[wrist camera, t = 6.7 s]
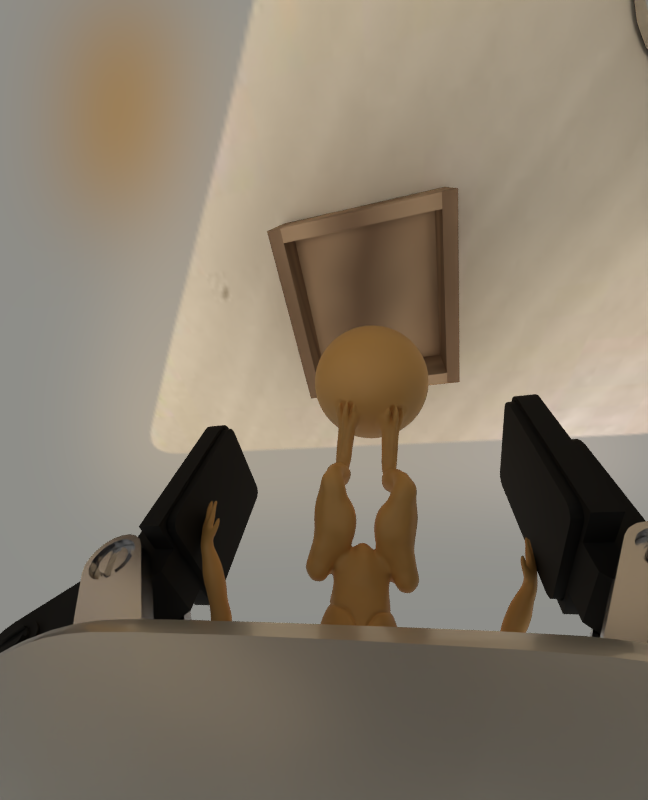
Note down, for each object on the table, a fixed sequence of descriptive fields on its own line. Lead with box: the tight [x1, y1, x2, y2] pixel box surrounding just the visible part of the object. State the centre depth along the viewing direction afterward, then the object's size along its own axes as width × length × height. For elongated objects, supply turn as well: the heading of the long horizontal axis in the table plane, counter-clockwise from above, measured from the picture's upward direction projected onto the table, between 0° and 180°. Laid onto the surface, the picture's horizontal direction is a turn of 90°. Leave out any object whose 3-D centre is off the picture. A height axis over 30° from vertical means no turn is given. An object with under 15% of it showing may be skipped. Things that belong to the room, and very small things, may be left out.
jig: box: [267, 187, 459, 398], centre depth 24 cm, size 11×12×4 cm
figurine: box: [201, 325, 537, 633], centre depth 10 cm, size 8×6×12 cm
